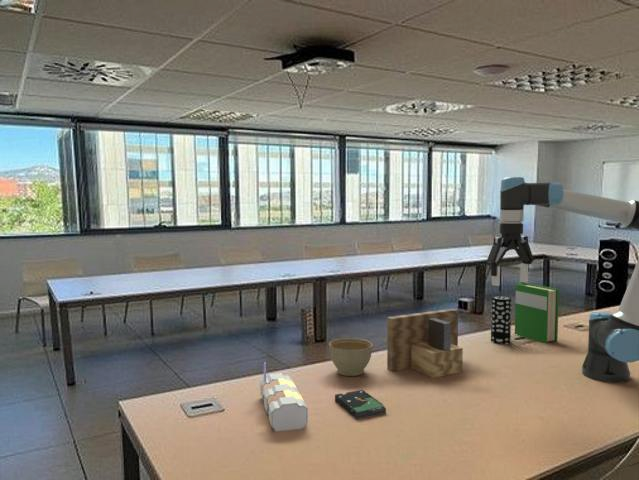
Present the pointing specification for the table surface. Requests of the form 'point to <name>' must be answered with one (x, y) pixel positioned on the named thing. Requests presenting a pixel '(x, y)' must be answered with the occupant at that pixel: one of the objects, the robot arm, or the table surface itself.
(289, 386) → the white yellow segmented bar
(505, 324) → the spotted tube
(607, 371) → the robot arm
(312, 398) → the table surface
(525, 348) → the table surface
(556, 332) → the hardback book
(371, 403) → the disk drive
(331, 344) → the planter bowl
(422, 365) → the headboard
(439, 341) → the grey slab
